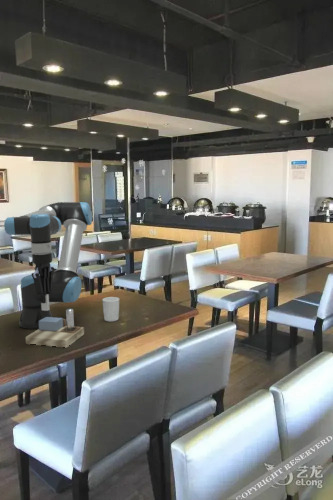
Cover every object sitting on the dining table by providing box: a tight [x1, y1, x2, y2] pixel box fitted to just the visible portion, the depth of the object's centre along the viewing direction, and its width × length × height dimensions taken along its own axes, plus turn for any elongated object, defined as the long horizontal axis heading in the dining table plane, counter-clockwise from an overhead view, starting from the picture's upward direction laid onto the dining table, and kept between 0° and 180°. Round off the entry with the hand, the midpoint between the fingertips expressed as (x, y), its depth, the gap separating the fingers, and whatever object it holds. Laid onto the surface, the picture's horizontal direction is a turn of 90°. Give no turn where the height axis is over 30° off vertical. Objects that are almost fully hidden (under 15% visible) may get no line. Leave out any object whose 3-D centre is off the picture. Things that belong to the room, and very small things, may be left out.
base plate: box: [25, 318, 85, 349], centre depth 171 cm, size 18×16×6 cm
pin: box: [65, 308, 75, 331], centre depth 172 cm, size 3×3×12 cm
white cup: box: [102, 296, 120, 322], centre depth 195 cm, size 8×8×10 cm
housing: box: [38, 316, 64, 331], centre depth 175 cm, size 8×6×4 cm
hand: (45, 309), depth 167 cm, fingers closed
